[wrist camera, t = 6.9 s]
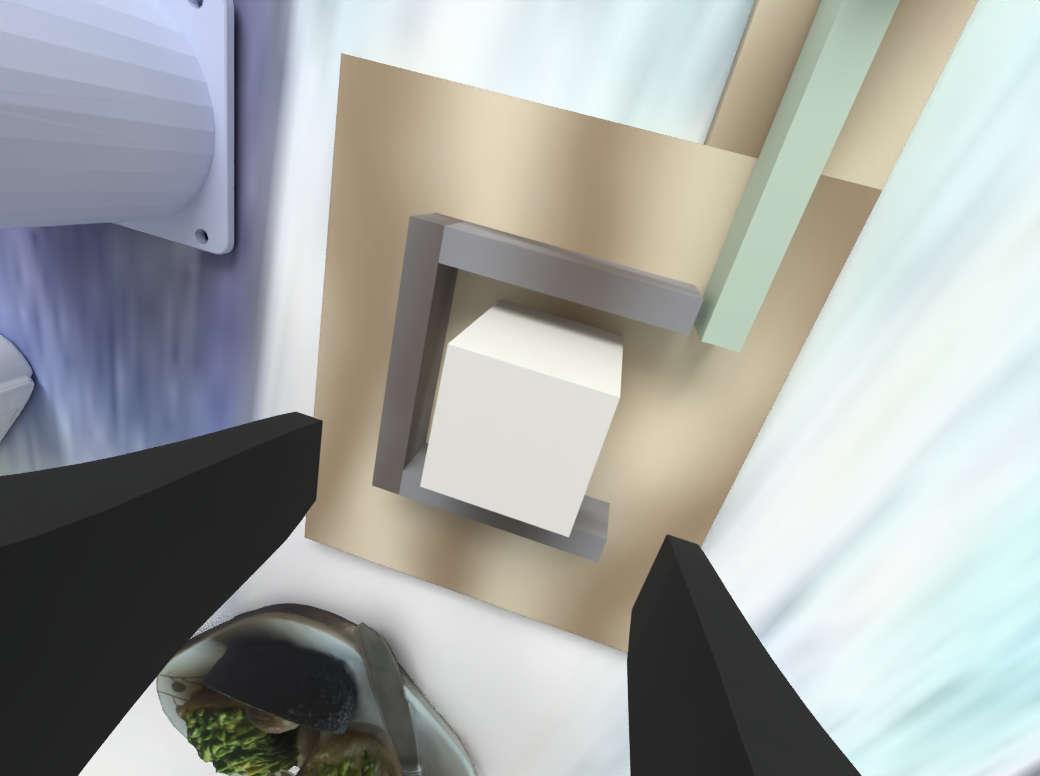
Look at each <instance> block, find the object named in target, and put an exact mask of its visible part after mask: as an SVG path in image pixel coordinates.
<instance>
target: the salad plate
mask: <svg viewBox="0 0 1040 776" xmlns="http://www.w3.org/2000/svg"><path fill="white" fill-rule="evenodd" d="M157 692H158V696H159V699H160V702H161V705H162V708H163V711H164V713H165V714H166V716H167V717H168V719H169V720H170V722H171V723H172V724H173V726H174V727H175V728H176V729H177V730H178V731H179V732H180V733H181V734H182V735H183V736H184V737H185V738H187V739H188V742H189V743H190V744H192V745H193V746H194V747H195V748H196V750H197V751H198V755H199V757H200V758H201V759H202V760H204V761H205V762H209V761H210V762H213V766H214V767H215V768H216V773H217V772H219V773H224V774H228V775H229V776H477V773H476V770H475V768H474V766H473V764H472V761H471V759H470V757H469V755H468V754H467V752H466V750H465V749H464V747H463V745H462V744H461V742H460V741H459V739H458V738H457V736H456V734H455V733H454V732H453V731H452V730H451V728H450V727H449V726H448V725H447V724H446V723H445V721H444V720H443V719H442V718H441V717H440V715H439V714H438V713H437V712H436V711H435V709H434V708H433V707H432V706H431V704H430V703H429V702H428V701H427V700H426V698H425V697H424V695H423V694H422V693H421V692H420V690H419V689H418V688H417V686H416V685H415V684H414V683H413V681H412V680H411V678H410V677H409V675H408V674H407V673H406V672H405V670H404V669H403V668H402V667H401V666H400V664H399V663H398V662H397V660H396V658H395V656H394V654H393V653H392V651H391V649H390V647H389V645H388V643H387V642H386V640H385V639H384V638H382V637H381V636H380V635H379V634H378V633H376V632H375V631H374V630H373V629H371V628H370V627H369V626H367V625H366V624H364V623H363V622H362V623H361V624H360V625H357V624H355V623H353V622H351V621H349V620H347V619H345V618H343V617H341V616H339V615H336V614H334V613H331V612H329V611H325V610H322V609H319V608H315V607H312V606H308V605H301V604H276V605H270V606H266V607H263V608H260V609H257V610H253V611H249V612H246V613H242V614H240V615H238V616H236V617H234V618H233V619H231V620H229V621H227V622H225V623H222V624H220V625H218V626H216V627H214V628H211V629H209V630H207V631H205V632H203V633H201V634H199V635H197V636H195V637H193V638H191V639H189V640H188V641H187V642H186V643H185V644H184V645H183V646H182V647H181V648H180V650H179V651H178V652H177V653H176V654H175V655H174V656H173V658H172V659H171V660H170V661H169V663H168V664H167V665H166V666H165V667H164V669H163V670H162V671H161V672H160V673H159V675H158V676H157ZM293 766H298V767H299V768H300V770H299V771H298V773H297V774H296V775H294V774H292V773H291V772H289V771H288V770H289V769H290V768H292V767H293Z"/></svg>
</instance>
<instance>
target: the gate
mask: <svg viewBox="0 0 1040 776" xmlns="http://www.w3.org/2000/svg"><path fill="white" fill-rule="evenodd" d="M899 1H900V0H822V1H821V3H820V6H819V8H818V11H817V13H816V16H815V18H814V21H813V23H812V26H811V28H810V31H809V33H808V36H807V38H806V41H805V43H804V46H803V48H802V51H801V53H800V56H799V58H798V61H797V63H796V66H795V68H794V71H793V73H792V76H791V78H790V81H789V83H788V86H787V88H786V91H785V93H784V95H783V98H782V100H781V103H780V105H779V108H778V110H777V113H776V115H775V118H774V120H773V123H772V125H771V128H770V130H769V133H768V135H767V138H766V140H765V143H764V145H763V148H762V150H761V153H760V155H759V158H758V160H757V163H756V165H755V168H754V170H753V173H752V175H751V178H750V180H749V183H748V185H747V188H746V190H745V193H744V195H743V198H742V200H741V203H740V205H739V208H738V210H737V213H736V215H735V218H734V220H733V223H732V225H731V228H730V230H729V233H728V235H727V238H726V240H725V243H724V245H723V248H722V250H721V253H720V255H719V258H718V260H717V263H716V265H715V268H714V270H713V273H712V275H711V278H710V280H709V283H708V285H707V288H706V290H705V293H704V295H703V299H704V300H703V302H702V305H701V307H700V310H699V312H698V315H697V317H696V320H695V322H694V326H695V328H696V331H697V333H698V335H699V337H700V339H701V341H703V342H706V343H709V344H713V345H716V346H720V347H723V348H727V349H730V350H733V351H737V352H740V351H741V349H742V347H743V345H744V342H745V340H746V338H747V336H748V334H749V331H750V329H751V327H752V325H753V323H754V320H755V318H756V316H757V314H758V312H759V309H760V307H761V305H762V303H763V301H764V298H765V296H766V294H767V292H768V290H769V287H770V285H771V283H772V281H773V279H774V276H775V274H776V272H777V270H778V268H779V265H780V263H781V261H782V259H783V257H784V254H785V252H786V250H787V248H788V246H789V243H790V241H791V239H792V237H793V235H794V232H795V230H796V228H797V226H798V224H799V221H800V219H801V217H802V215H803V213H804V210H805V208H806V206H807V204H808V202H809V199H810V197H811V195H812V193H813V191H814V188H815V186H816V184H817V182H818V180H819V177H820V175H821V173H822V171H823V169H824V166H825V164H826V162H827V160H828V158H829V155H830V153H831V151H832V149H833V147H834V144H835V142H836V140H837V138H838V136H839V133H840V131H841V129H842V127H843V125H844V122H845V120H846V118H847V116H848V114H849V111H850V109H851V107H852V105H853V103H854V100H855V98H856V96H857V94H858V92H859V89H860V87H861V85H862V83H863V81H864V78H865V76H866V74H867V72H868V70H869V67H870V65H871V63H872V61H873V59H874V56H875V54H876V52H877V50H878V48H879V45H880V43H881V41H882V39H883V37H884V34H885V32H886V30H887V28H888V26H889V23H890V21H891V19H892V17H893V15H894V12H895V10H896V8H897V6H898V4H899Z"/></svg>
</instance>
